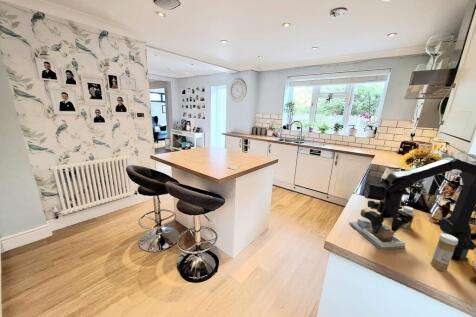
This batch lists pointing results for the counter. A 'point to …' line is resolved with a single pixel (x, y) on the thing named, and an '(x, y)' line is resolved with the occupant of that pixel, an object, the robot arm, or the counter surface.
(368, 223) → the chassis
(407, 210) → the supplement bottle
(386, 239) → the brown block
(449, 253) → the sprinkles bottle
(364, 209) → the wheel
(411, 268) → the counter surface
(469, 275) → the counter surface
